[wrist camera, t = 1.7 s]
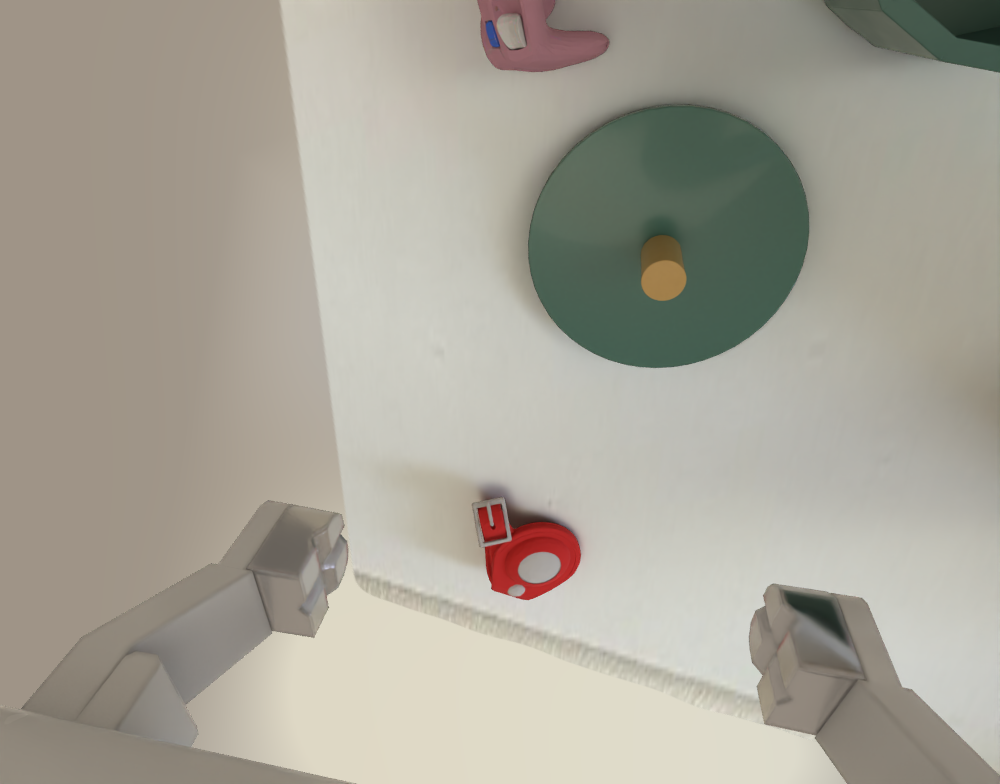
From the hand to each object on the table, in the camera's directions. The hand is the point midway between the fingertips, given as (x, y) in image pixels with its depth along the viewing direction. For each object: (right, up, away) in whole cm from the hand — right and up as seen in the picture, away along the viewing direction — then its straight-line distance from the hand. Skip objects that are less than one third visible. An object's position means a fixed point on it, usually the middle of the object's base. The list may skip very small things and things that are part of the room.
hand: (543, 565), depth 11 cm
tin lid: (+9, +12, +24) cm, 28 cm away
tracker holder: (+2, -9, +42) cm, 43 cm away
